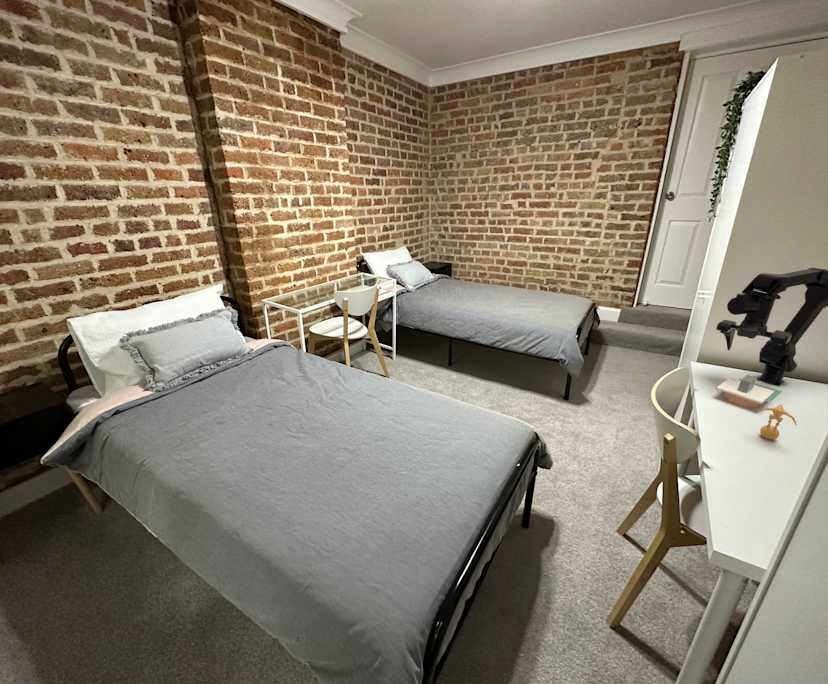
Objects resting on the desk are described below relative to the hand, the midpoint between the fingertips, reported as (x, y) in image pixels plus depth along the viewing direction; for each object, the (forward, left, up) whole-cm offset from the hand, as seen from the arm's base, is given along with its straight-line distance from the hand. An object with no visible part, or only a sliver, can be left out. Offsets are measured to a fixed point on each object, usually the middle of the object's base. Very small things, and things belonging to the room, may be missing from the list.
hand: (744, 353), depth 130 cm
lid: (+11, +5, -9) cm, 15 cm away
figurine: (+30, +17, -13) cm, 37 cm away
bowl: (+11, +5, -13) cm, 18 cm away
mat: (-2, +5, -13) cm, 14 cm away
